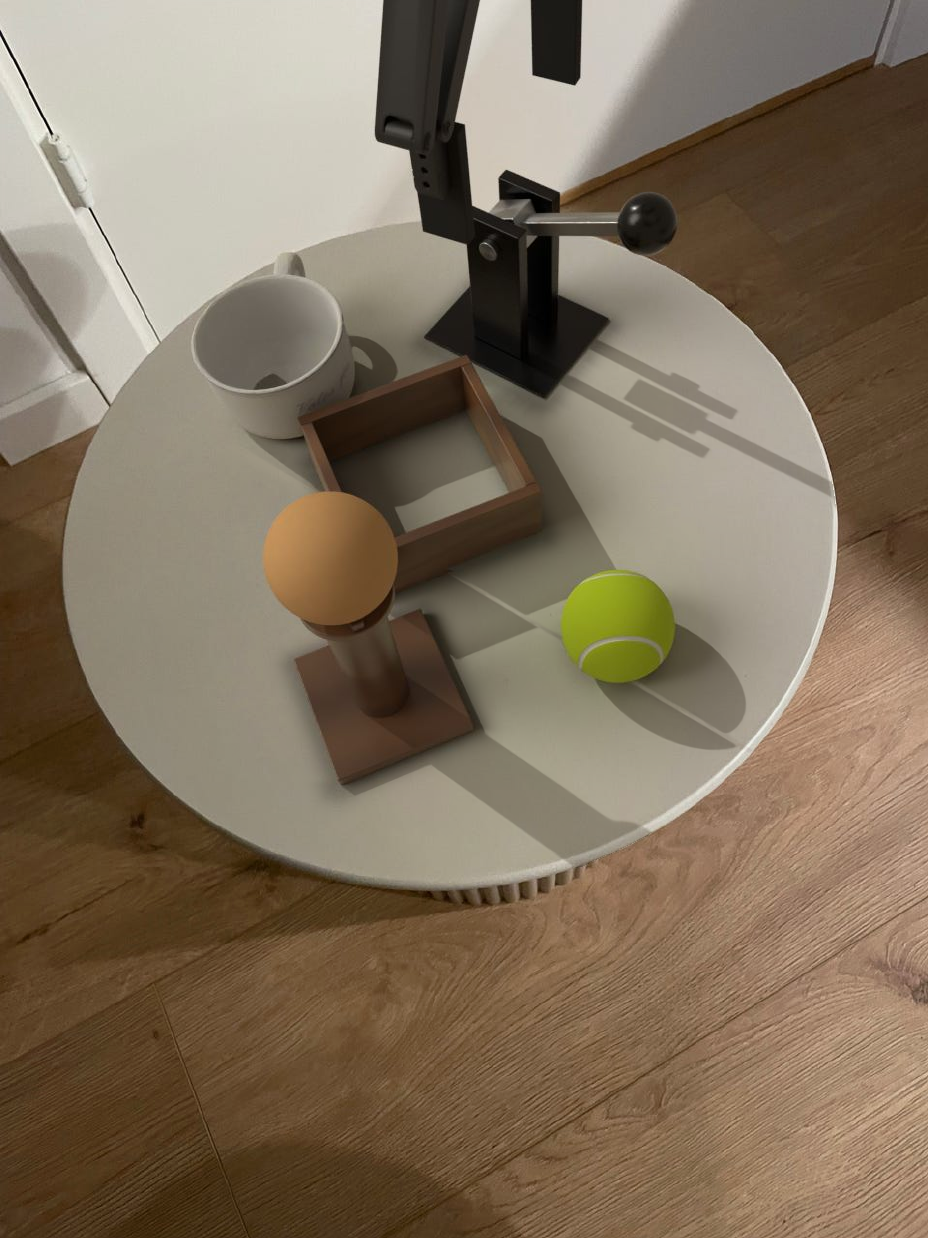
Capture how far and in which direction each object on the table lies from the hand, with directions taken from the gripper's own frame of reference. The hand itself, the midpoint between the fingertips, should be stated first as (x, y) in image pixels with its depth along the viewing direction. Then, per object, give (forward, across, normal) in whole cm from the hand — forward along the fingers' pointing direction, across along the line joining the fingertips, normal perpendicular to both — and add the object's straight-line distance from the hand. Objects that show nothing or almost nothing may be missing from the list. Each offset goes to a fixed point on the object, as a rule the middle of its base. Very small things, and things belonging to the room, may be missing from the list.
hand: (505, 152), depth 55 cm
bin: (+22, +10, -2) cm, 24 cm away
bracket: (+22, -6, -3) cm, 23 cm away
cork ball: (+4, +25, +2) cm, 25 cm away
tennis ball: (+22, +15, +14) cm, 31 cm away
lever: (+10, -5, +3) cm, 12 cm away
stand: (+22, +25, +2) cm, 33 cm away
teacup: (+22, +5, -16) cm, 28 cm away
